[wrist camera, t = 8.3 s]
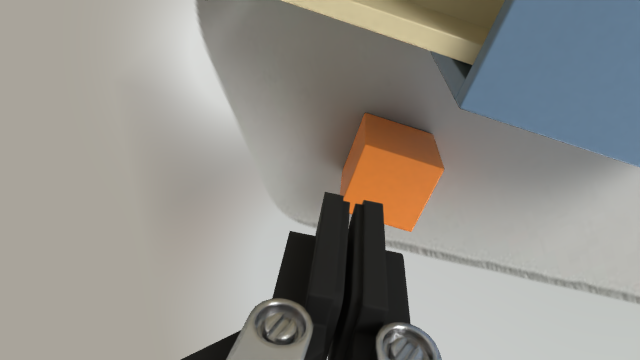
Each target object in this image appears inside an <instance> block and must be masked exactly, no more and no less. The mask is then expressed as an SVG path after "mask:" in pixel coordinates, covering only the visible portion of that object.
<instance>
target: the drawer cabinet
mask: <svg viewBox="0 0 640 360" xmlns="http://www.w3.org/2000/svg"><path fill="white" fill-rule="evenodd" d="M430 52H431V54H432V56H433V58H434V60H435V62H436V64H437V66H438V68H439V70H440V72H441V74H442V76H443V77H444V79H445V81H446V83H447V85H448V87H449V89H450V91H451V93H452V95H453V97H454V99H455V100H456V102H457V104H458V106H459V108H460V109H463V110H466V111H469V112H472V113H475V114H478V115H481V116H484V117H487V118H490V119H494V120H497V121H500V122H503V123H506V124H509V125H512V126H515V127H518V128H521V129H524V130H527V131H530V132H533V133H536V134H539V135H542V136H545V137H548V138H551V139H554V140H558V141H561V142H564V143H567V144H570V145H573V146H576V147H579V148H582V149H585V150H588V151H591V152H594V153H597V154H600V155H603V156H606V157H609V158H612V159H615V160H619V161H622V162H625V163H628V164H631V165H634V166H637V167H640V0H505V1H504V3H503V5H502V7H501V9H500V11H499V13H498V15H497V17H496V19H495V21H494V23H493V25H492V27H491V29H490V31H489V33H488V35H487V37H486V39H485V41H484V43H483V45H482V47H481V49H480V51H479V53H478V55H477V57H476V59H475V61H474V63H473V65H471V64H468V63H465V62H462V61H459V60H456V59H453V58H450V57H447V56H444V55H441V54H438V53H435V52H432V51H430Z"/></svg>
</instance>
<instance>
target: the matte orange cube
mask: <svg viewBox="0 0 640 360" xmlns="http://www.w3.org/2000/svg"><path fill="white" fill-rule="evenodd" d="M443 171H444V166H443V163H442V160H441V157H440V154H439V151H438V148H437V145H436V142H435V139H434V136H433V134H431V133H427V132H424V131H421V130H418V129H415V128H412V127H409V126H406V125H403V124H399V123H396V122H393V121H390V120H387V119H384V118H381V117H378V116H375V115H371V114H368V113H365V114H364V116H363V119H362V121H361V124H360V126H359V129H358V132H357V134H356V137H355V139H354V142H353V145H352V147H351V150H350V152H349V155H348V158H347V160H346V163H345V165H344V168H343V171H342V178H341V189H340V195H343V196H344V198H343V201H347V202H350V211H349V213H350V214H353V210H354V206H355V204H356V203H357V204H362V203H363V200H367V201H372V202H377V203H382V204H383V212H384V224H386V225H389V226H393V227H396V228H399V229H403V230H406V231H409V232H412V230H413V228H414V226H415V224H416V222H417V221H418V219H419V217H420V215H421V213H422V211H423V209H424V207H425V205H426V203H427V202H428V200H429V198H430V196H431V194H432V192H433V190H434V188H435V186H436V185H437V183H438V181H439V179H440V177H441V175H442V173H443Z"/></svg>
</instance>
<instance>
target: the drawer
mask: <svg viewBox="0 0 640 360" xmlns="http://www.w3.org/2000/svg"><path fill="white" fill-rule="evenodd" d="M281 1H284V2H287V3H290V4H293V5H296V6H299V7H302V8H305V9H308V10H310V11H313V12H316V13H319V14H322V15H325V16H328V17H331V18H334V19H337V20H340V21H343V22H346V23H349V24H352V25H355V26H358V27H361V28H364V29H367V30H370V31H373V32H376V33H379V34H382V35H385V36H388V37H391V38H394V39H397V40H400V41H402V42H405V43H408V44H411V45H414V46H417V47H420V48H423V49H426V50H429V51H432V52H435V53H438V54H441V55H444V56H447V57H450V58H453V59H456V60H459V61H462V62H465V63H468V64H471V65H473V63H474V61H475V59H476V57H477V55H478V53H479V51H480V49H481V47H482V45H483V43H484V41H485V39H486V37H487V35H488V33H489V31H490V29H491V27H492V25H493V23H494V21H495V19H496V17H497V15H498V13H499V11H500V9H501V7H502V5H503V3H504V1H505V0H281Z"/></svg>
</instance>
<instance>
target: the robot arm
mask: <svg viewBox="0 0 640 360" xmlns="http://www.w3.org/2000/svg"><path fill="white" fill-rule="evenodd" d="M343 198H344V196H343V195H338V194H333V193H328V192H325V194H324V199H323V203H322V208H321V213H320V217H319V222H318V226H317V231H316V236H312V235H307V234H302V233H297V232H292V231H290V233H289V236H288V240H287V244H286V248H285V252H284V256H283V259H282V264H281V267H280V271H279V275H278V279H277V283H276V287H275V290H274V294H273V298H272V299H270V300H266V301H263V302H262V303H260V304H258V305H257V306H255V308H254V309H253V310H252V311H251V313H250V315H249V317H248V318H247V320H246V322H245V324H244V326H243V328H242V330H240V331H239V332H236V333H235V334H233V335H230V336H228V337H226V338H224V339H222V340H220V341H218V342H216V343H214V344H212V345H210V346H208V347H206V348H204V349H202V350H200V351H198V352H196V353H193V354H191V355H189V356H187V357H185V358H183V359H181V360H327V356H328V360H442V359H441V355H440V353H439V350H438V348H437V346H436V344H435V342H434V341H433V340H432V339H431V338H430V336H429V335H428V334H427V333H425V332H424V331H422V330H421V329H420V328H418V327H416V326H413V325H411V324H410V315H409V306H408V296H407V286H406V277H405V268H404V259H403V255H402V254H401V253H396V252H392V251H386V250H385V231H384V212H383V204H382V203H377V202H372V201H367V200H363V203H362V204H357V203H356V204H355V206H354V210H353V214H352V217H351V221H350V225H349V211H350V202H347V201H343ZM348 226H349V229H348Z"/></svg>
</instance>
